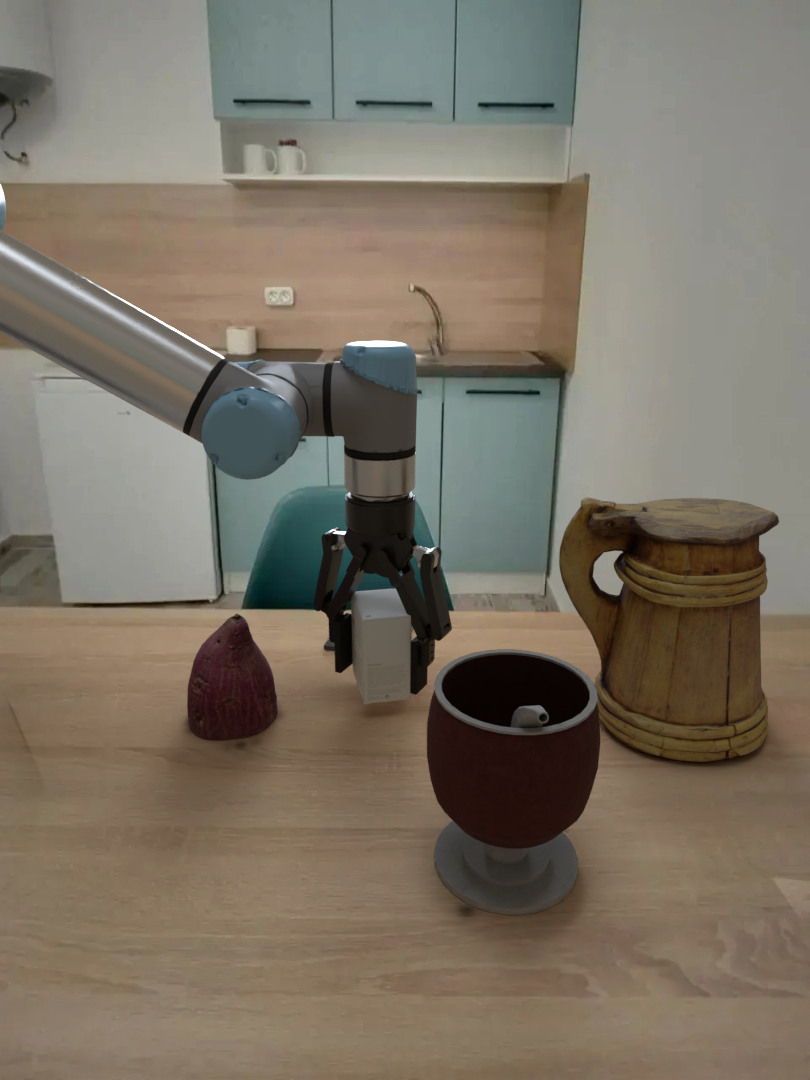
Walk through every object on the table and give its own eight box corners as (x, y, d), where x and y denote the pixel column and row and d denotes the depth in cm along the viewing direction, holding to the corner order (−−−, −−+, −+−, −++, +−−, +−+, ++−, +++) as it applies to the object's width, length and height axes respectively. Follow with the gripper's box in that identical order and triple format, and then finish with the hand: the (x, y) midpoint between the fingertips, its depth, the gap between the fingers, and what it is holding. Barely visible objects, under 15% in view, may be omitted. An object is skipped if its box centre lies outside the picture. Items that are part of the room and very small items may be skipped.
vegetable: (289, 744, 93) (316, 637, 86) (201, 764, 87) (222, 652, 80) (253, 684, 100) (275, 582, 94) (169, 700, 95) (186, 591, 88)
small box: (411, 701, 93) (412, 615, 89) (362, 706, 92) (361, 619, 88) (397, 666, 100) (398, 586, 97) (351, 671, 99) (350, 590, 95)
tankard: (787, 774, 83) (832, 541, 74) (550, 754, 86) (566, 527, 78) (745, 683, 100) (777, 484, 91) (547, 669, 103) (561, 475, 94)
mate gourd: (417, 812, 77) (418, 618, 70) (562, 804, 79) (578, 613, 72) (438, 945, 63) (443, 718, 56) (616, 933, 64) (642, 709, 57)
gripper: (489, 497, 86) (480, 686, 94) (313, 469, 96) (319, 643, 104) (459, 517, 80) (453, 718, 88) (274, 485, 90) (283, 669, 97)
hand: (380, 677), depth 96 cm, fingers closed on small box, 9 cm apart
